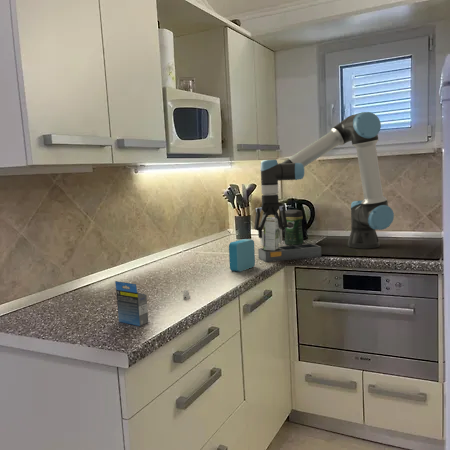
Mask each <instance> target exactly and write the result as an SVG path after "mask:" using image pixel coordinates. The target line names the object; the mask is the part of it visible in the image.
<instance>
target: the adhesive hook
mask: <svg viewBox="0 0 450 450" xmlns="http://www.w3.org/2000/svg"><path fill="white" fill-rule="evenodd" d="M180 293H182V298H183V299H186V300H188V299H191V295H190V292H189V290H188V289H183V291H180Z"/></svg>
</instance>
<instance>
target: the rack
mask: <svg viewBox="0 0 450 450" xmlns="http://www.w3.org/2000/svg"><path fill="white" fill-rule="evenodd" d="M257 254H258V256H257V257H258V259H259V260H261V261H263V262H264V263H271V262H280V261H287V260H288V261H290V260H299V259H308V258H319V257H322V246H320V245H317V244H315V243H303V244H301V245H282V246H281V245H280V246H279V249H277V250H275V251H270V250H263V247H262V248H258V249H257Z"/></svg>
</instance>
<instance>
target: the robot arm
mask: <svg viewBox="0 0 450 450" xmlns="http://www.w3.org/2000/svg"><path fill="white" fill-rule="evenodd" d="M381 128H382V124H381V120H380V118H379V116H378V115H377V114H375V113H373V112H370V111H362V112H358V113H356V114H351V115H349V116H347V117H346V118H344V119H343V120H342V121H340V122H339V123H337V124H336V125H334V126H333V127H331V129H330V131H329V132H328V133H326V134H324V135H323V136H322V137H320V138H318V139H317V140H315V141H314V142H312V143H310V144H308V145H307V146H305V147H304V148H302V149H301V150H300V151H298V152H297V153H295V154H293V155H291V156H290V157H288V158H287V159H285V160H284V161H282V162H280V163H279V162H278V160H277V159H262V160H261V161H260V182H261V184H260V186H261V207H255V208H254V209H255V220H254V225H253V226H254V227H253V229H254V230H255V231H258V233H257V234H258V239H260V245H261V246H264V231H263V227H264V224H265V221H266V219H267V218H269V216H273V218H277V219H278V224H279V245H282V244H283V237H285V228H287V227H288V225H287V220H286V215H285V211H286V206H284V205H280V204H279V181H297V180H303V178H304V177H305V167H306V166H308V165H309V164H311V163H312V162H314V161H316V160H318V159H319V158H321V157H322V156H324V155H325V154H327V153H329V152H330V151H332V150H333V149H335V148H336V147H338V146H343V145H345V144H346V143H349V142H351V144H352V145H351V146H353V147H355V150H356V156H357V163H358V167H359V174H360V181H361V187H362V193H363V200H354V201H352V202H351V204H350V222H351V223H350V224H351V228H350V234H349V237H348V240H347V247H349V248H352V249H360V250H361V249H364V250H365V249H376V248H379V247H380V239H379V237H378V235H377V230H378V231H383V230H386V229H387V228H389V227H390V226H391V224H392V223H393V222H394V220H395V219H394V218H395V214H394V211H393V209H392V208H391V207H390V206H389V203H388V198H387V197H386V196H384V193H383V186H382V180H381V173H380V166H379V159H378V152H377V146H376V144H377V143H378V141H379V136H378V135H379V133H380V132H381ZM279 211H280V215H279V213H278V212H279ZM261 212H262V217H261ZM280 217H281V218H280ZM260 218H261V220H260Z"/></svg>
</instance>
